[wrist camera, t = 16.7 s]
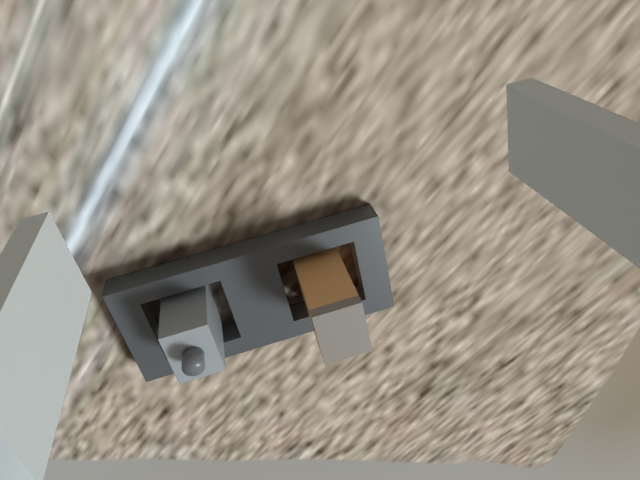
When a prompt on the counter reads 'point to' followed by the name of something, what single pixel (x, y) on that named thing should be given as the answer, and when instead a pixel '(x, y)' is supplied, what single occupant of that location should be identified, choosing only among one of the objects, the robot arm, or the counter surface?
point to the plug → (333, 305)
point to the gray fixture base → (237, 295)
